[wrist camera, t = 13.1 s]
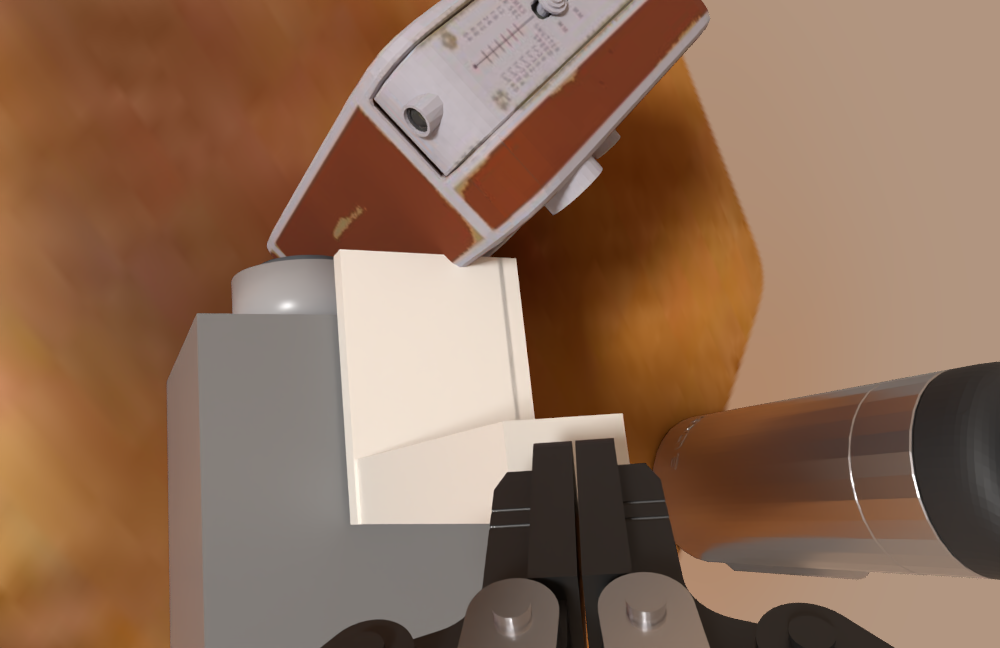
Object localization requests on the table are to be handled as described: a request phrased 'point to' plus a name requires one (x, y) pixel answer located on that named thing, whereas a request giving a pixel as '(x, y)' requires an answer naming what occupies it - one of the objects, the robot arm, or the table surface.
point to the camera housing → (287, 485)
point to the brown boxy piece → (481, 123)
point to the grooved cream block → (439, 387)
